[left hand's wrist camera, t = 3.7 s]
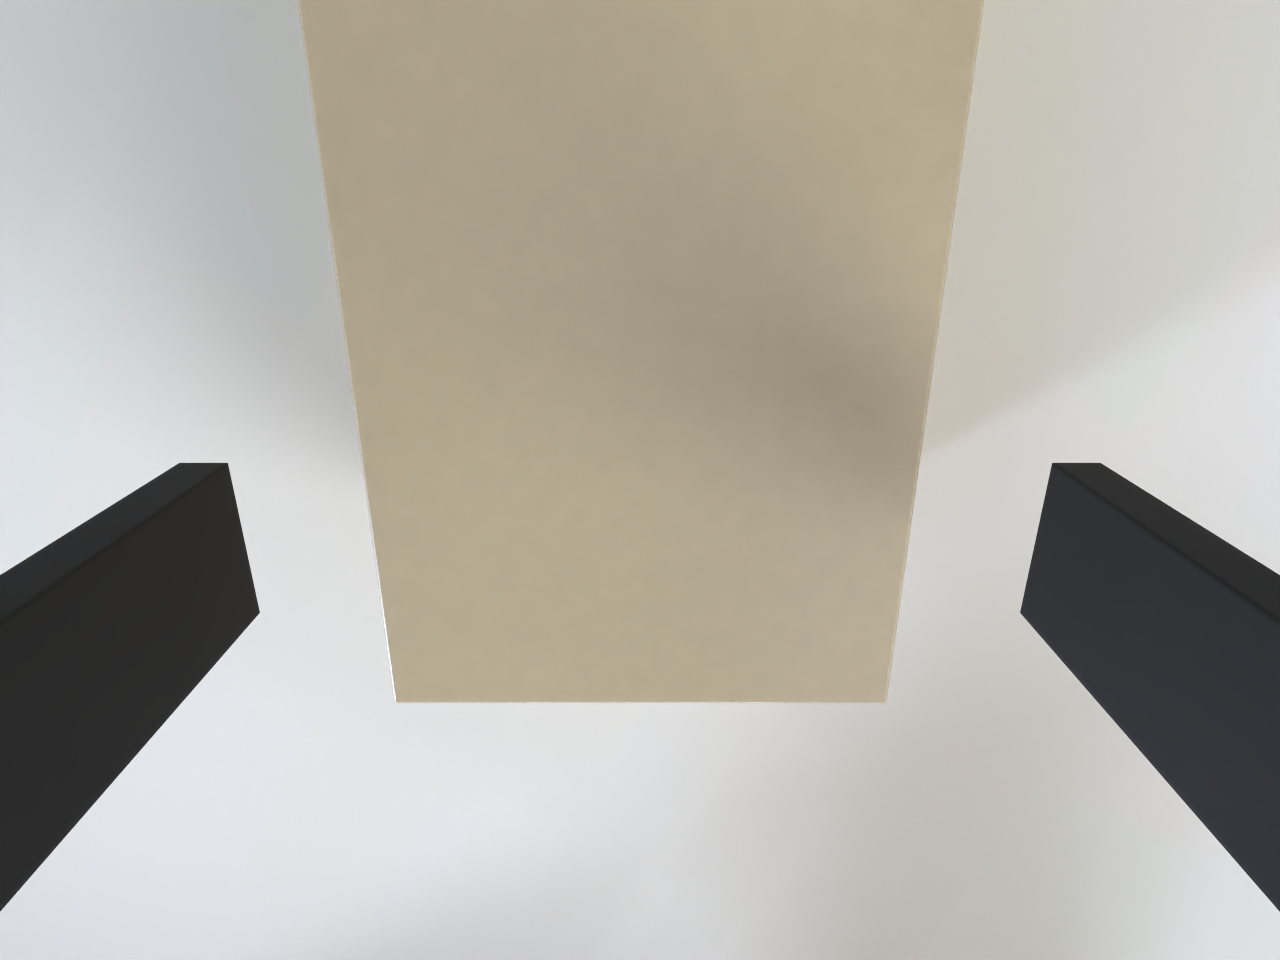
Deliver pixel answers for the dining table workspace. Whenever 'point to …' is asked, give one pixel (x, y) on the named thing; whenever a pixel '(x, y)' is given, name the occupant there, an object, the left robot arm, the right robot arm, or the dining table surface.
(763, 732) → the dining table surface
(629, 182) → the cabinet
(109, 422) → the dining table surface
